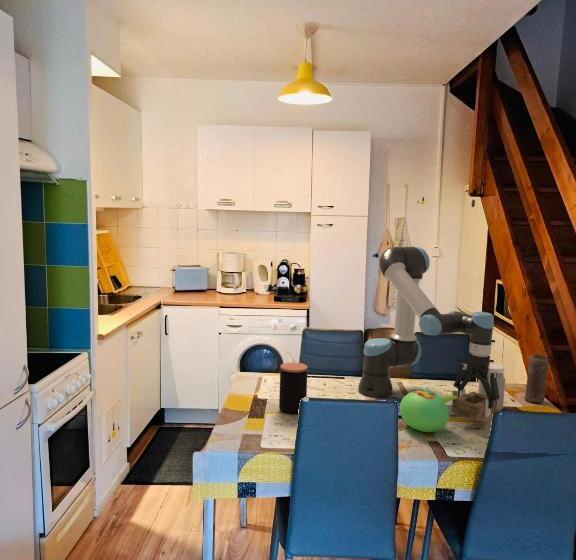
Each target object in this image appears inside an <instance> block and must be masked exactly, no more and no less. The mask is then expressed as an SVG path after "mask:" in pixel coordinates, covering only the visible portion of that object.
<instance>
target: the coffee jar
mask: <svg viewBox="0 0 576 560" xmlns="http://www.w3.org/2000/svg"><path fill="white" fill-rule="evenodd" d="M307 370H308V366H307V364H305V363H301V362H285V363H282V364H280V372H279V400H278V401H279V403H278V406H279V410H280V412H281V413H283V414H285V415H290V416H297V415H299V414H298V409H299V403H300V400H301V399H302V398H304V397H307V396H308V394H307V390H308V372H307Z"/></svg>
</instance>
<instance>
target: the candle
mask: <svg viewBox="0 0 576 560" xmlns="http://www.w3.org/2000/svg"><path fill="white" fill-rule="evenodd" d="M548 364H549V358H548V357H547V356H545V355H541V354H534V353H533V354H531V355H529V360H528V369H527V377H526V386H525V394H524V400H526V401H527V402H531V403H535V404H540V403H542V402H544V401H545V396H546V395H545V393H546V384H547V373H548Z"/></svg>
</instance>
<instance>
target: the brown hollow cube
mask: <svg viewBox="0 0 576 560" xmlns="http://www.w3.org/2000/svg"><path fill="white" fill-rule="evenodd" d="M487 399H488V397H487V396H485V395H482V394H479V393H478V392H476V391H470V392H468V393H465V395H462V396H460V397H457V398H456V399H454V400H453V402H452V412H454V413H456V414H455V415H460V416H462V417H463V418H464V417H465V418H468V419H470V420H472V421H475V422H476V421H479V420H482V419H484V418H485V417H484V416H485V406H486V400H487ZM496 408H497V400H494V404H493V408H492V409H491V412H490V416H491V415H493V414H494V413H493V412H494V411H496Z"/></svg>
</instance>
